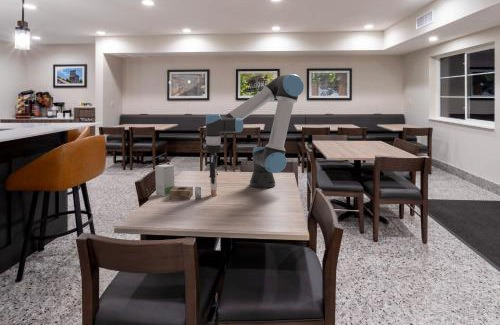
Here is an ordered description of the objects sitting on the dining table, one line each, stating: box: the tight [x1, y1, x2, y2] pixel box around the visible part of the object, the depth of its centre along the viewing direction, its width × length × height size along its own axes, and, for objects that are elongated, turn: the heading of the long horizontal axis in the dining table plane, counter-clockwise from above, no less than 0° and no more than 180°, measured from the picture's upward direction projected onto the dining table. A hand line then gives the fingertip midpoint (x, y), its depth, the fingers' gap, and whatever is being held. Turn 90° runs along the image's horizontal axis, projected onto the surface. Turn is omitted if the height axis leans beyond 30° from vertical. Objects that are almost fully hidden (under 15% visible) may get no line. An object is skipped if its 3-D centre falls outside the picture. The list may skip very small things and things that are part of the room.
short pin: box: [194, 186, 202, 201], centre depth 186 cm, size 3×3×6 cm
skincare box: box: [154, 163, 176, 197], centre depth 194 cm, size 8×7×16 cm
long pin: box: [210, 169, 218, 197], centre depth 193 cm, size 3×3×14 cm
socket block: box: [169, 185, 194, 201], centre depth 189 cm, size 10×10×4 cm
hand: (213, 188), depth 193 cm, fingers open, 4 cm apart
